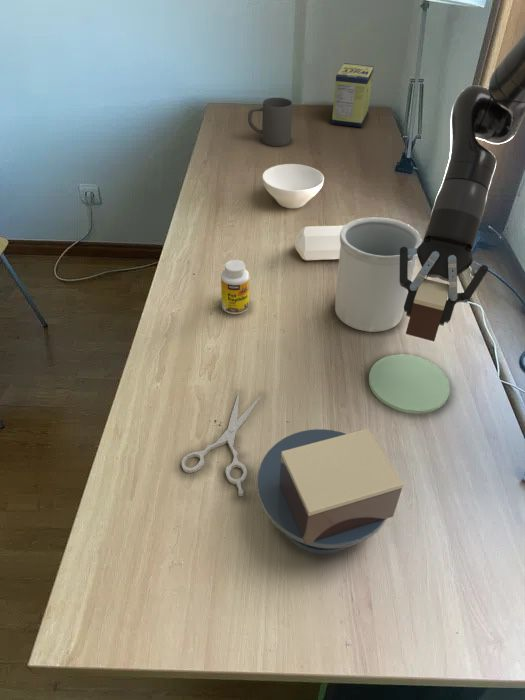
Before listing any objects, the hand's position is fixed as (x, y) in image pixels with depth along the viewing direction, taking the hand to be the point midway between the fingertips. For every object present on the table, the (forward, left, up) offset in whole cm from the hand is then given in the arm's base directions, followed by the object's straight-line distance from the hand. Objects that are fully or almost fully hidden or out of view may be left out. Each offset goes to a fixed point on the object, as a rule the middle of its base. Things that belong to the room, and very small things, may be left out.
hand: (425, 319), depth 88 cm
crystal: (+5, -45, -16) cm, 48 cm away
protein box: (-7, -131, -16) cm, 133 cm away
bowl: (+16, -70, -16) cm, 73 cm away
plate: (-1, -2, -16) cm, 16 cm away
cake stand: (+17, +24, -16) cm, 34 cm away
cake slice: (-1, -2, -3) cm, 3 cm away
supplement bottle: (+30, -24, -16) cm, 42 cm away
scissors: (+30, +10, -16) cm, 36 cm away
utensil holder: (+3, -23, -16) cm, 28 cm away
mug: (+21, -111, -16) cm, 114 cm away
